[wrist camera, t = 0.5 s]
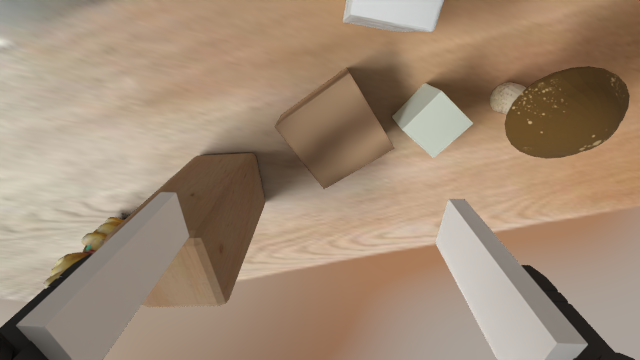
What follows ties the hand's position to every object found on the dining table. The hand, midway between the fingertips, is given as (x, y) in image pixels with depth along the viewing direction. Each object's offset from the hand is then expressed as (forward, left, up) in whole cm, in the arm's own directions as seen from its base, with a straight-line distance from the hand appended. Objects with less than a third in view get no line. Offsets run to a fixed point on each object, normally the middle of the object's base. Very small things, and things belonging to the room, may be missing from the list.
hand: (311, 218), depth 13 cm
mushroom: (+14, +21, -27) cm, 37 cm away
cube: (+10, +11, -27) cm, 30 cm away
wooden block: (+2, -19, -27) cm, 33 cm away
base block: (+4, 0, -27) cm, 27 cm away
